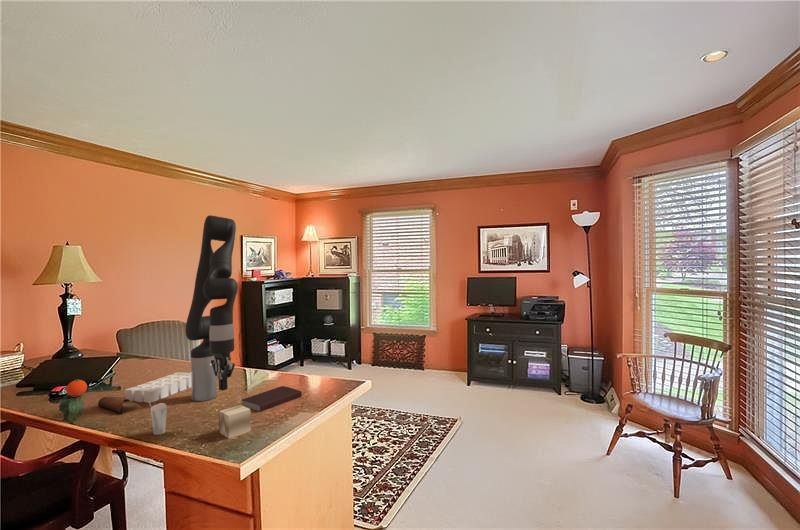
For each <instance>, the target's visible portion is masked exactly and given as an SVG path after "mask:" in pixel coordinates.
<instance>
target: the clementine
mask: <svg viewBox="0 0 800 530" xmlns="http://www.w3.org/2000/svg"><path fill="white" fill-rule="evenodd" d="M87 389H88V385H87V383H86V381H85V380H82V379H74V380H73V381H71V382H69V383H68V385H67V386H66V388H65V392H66V394H67V395H68V396H69V395H76V396H70V397H71V398H72V397H74V398H77V397H80V396H82V395H83V394H82V393H84V392H86V391H87ZM78 394H81V395H78ZM84 394H85V393H84Z"/></svg>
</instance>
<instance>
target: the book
mask: <svg viewBox="0 0 800 530" xmlns="http://www.w3.org/2000/svg"><path fill="white" fill-rule="evenodd" d="M302 394H303V393H302V390H299V389H296V388H293V387H288V386H286V385H285V386H284V385H281V386H279V387H278V386H277V387H274V388H271V389H268V390H265V391H263V392H261V393H260V392H259V393H257V394H254V395H252V396H248V397H245V398H242V399H241V405H242V406H244V407H247V408H249V409H250V410H254V411H257V412H264V411H266V410H269V409H272V408H275V407H277V406H281V405H283V404H286V403H288V402H291V401H294V400H296V399H299V398H302V396H303V395H302Z"/></svg>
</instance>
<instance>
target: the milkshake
mask: <svg viewBox="0 0 800 530" xmlns="http://www.w3.org/2000/svg"><path fill="white" fill-rule="evenodd" d="M147 403H148V404H149V407H150V416H151V424H152V425H151V426H152V433H153V435H154V436H157V435H163V434H164V433H165V432H166V424H167V414H168V413H167V412H168V405H167V404H166V403H164V402H160V403H157V404H155V405H152V404H151V403H149V402H147Z"/></svg>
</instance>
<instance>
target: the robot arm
mask: <svg viewBox="0 0 800 530" xmlns="http://www.w3.org/2000/svg"><path fill="white" fill-rule="evenodd" d="M236 229H237V227H236V222H235V220H234V219H232V218H227V217H223V216H216V215H210V214H209V215H207V216H206V217H205V219H204V223H203V228H202V237H201V238H202V240H201V248H200V254H199V255H200V256H199V260H198V265H197V269H196V270H197V271H196V276H195V282H194V289H193V295H192V300H191V305H190V309H189V310H188V311H189V312H188V316H187V318H186V322H185V329H184V330H185V336H186V337H187V340H189V341H200V340H202V341H201V342H200V344H199V345H197V346H195V347H194V348H192V349H191V350H190V372H191V387H190V388H191V401H193V402H205V401H210V400H213V399H215V398H217V396H218V390H219V391H222V392H223V391H226V390H228V378H231V377H232V374H233V371H234V370H235V369H234V368H235V365H236V364H235V362H233V363H232V358H231V353H232V352H234V351H235V327H234V316H233V315H234V304H235V301H236V296H237V294H238V290H239V284H238V282H237V280H236V279H234V278H232V272H233V266H232V265H233V263H232V262H233V261H232V260H233V259H232V258H233V251H234V246H235V239H236V231H237V230H236ZM212 241H218V242H224V243H222V245H220V246H219V247H218V248H217V249H216V250H215V251H213V248H212ZM212 300H213V301H214V300H215V301H216V300H226V301H225V302H224V303H223V304H222V305H217V306H214V307H211V308H210V310H209V315H204V313H205V310H206V308H207V306H208V305H209V304H210V303H211V301H212ZM203 315H204V316H203ZM217 379H218V380H217ZM217 381H218V382H217ZM217 383H218V384H217ZM217 386H218V387H217Z"/></svg>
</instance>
